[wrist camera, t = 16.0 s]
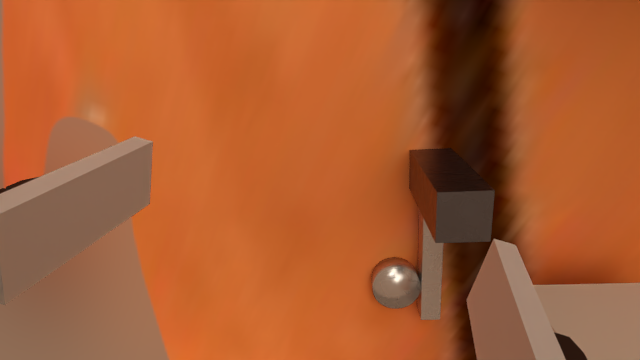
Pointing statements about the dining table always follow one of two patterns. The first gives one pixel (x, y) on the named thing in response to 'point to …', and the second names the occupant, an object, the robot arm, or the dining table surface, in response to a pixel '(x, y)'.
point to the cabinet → (596, 317)
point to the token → (395, 283)
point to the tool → (445, 215)
